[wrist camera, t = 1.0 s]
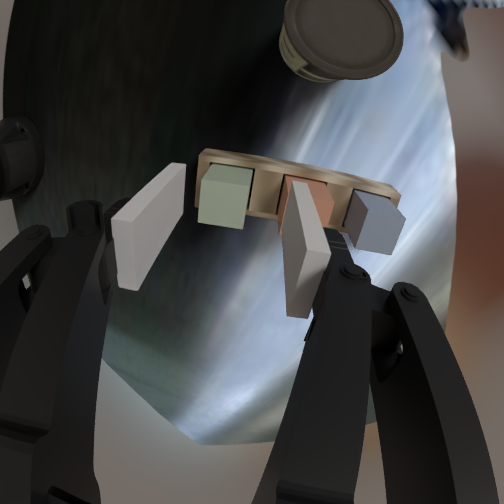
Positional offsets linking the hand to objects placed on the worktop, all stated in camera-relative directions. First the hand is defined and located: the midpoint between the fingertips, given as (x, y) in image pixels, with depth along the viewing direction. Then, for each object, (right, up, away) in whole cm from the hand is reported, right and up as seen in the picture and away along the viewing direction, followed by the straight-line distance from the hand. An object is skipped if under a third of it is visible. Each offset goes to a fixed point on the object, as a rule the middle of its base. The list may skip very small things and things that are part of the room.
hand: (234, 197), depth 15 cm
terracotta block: (+7, +4, +22) cm, 24 cm away
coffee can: (+9, +23, +15) cm, 29 cm away
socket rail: (+7, +6, +25) cm, 27 cm away
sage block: (-2, +6, +22) cm, 23 cm away
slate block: (+16, +3, +23) cm, 28 cm away
